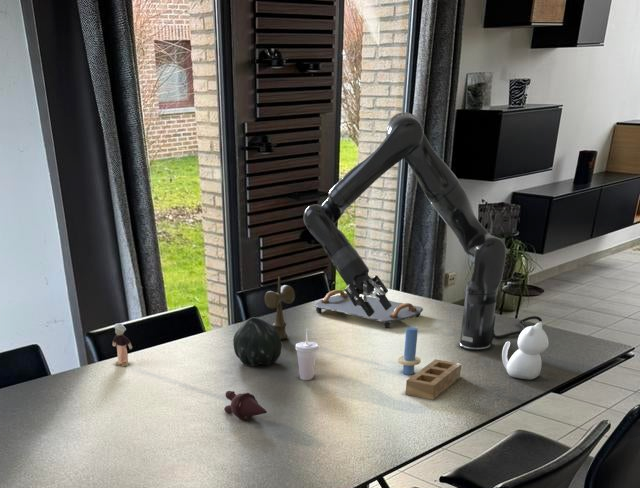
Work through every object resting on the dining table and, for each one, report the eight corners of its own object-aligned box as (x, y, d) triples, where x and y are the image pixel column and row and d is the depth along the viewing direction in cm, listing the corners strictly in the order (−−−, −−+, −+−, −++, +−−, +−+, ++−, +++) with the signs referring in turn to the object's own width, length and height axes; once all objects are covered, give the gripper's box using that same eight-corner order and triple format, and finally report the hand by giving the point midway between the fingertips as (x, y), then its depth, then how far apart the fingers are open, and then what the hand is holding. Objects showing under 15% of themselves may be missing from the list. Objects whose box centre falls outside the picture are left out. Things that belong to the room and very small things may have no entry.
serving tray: (306, 311, 270) (306, 294, 267) (345, 299, 284) (346, 283, 281) (392, 331, 246) (393, 313, 243) (430, 316, 260) (432, 299, 257)
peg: (407, 367, 215) (411, 323, 209) (424, 373, 211) (428, 328, 204) (392, 372, 212) (395, 328, 205) (409, 378, 207) (412, 333, 201)
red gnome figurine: (278, 397, 180) (237, 387, 190) (256, 397, 175) (216, 388, 185) (275, 425, 182) (235, 414, 192) (254, 426, 177) (213, 415, 187)
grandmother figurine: (109, 365, 224) (104, 324, 217) (116, 361, 227) (111, 320, 220) (131, 367, 221) (126, 326, 215) (138, 363, 224) (133, 322, 218)
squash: (280, 333, 229) (249, 301, 220) (297, 349, 217) (265, 316, 208) (248, 366, 231) (216, 336, 222) (263, 384, 219) (230, 352, 210)
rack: (433, 372, 211) (435, 359, 209) (460, 377, 207) (461, 363, 205) (405, 394, 197) (406, 380, 195) (432, 399, 193) (434, 385, 191)
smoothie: (318, 374, 212) (318, 326, 205) (317, 381, 207) (318, 333, 200) (295, 373, 213) (296, 326, 206) (294, 381, 207) (294, 333, 200)
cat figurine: (534, 385, 200) (544, 331, 193) (491, 375, 208) (499, 323, 200) (547, 376, 206) (557, 323, 198) (505, 367, 213) (513, 315, 206)
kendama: (295, 336, 244) (295, 275, 234) (278, 343, 238) (277, 281, 228) (281, 333, 248) (280, 272, 237) (263, 340, 241) (262, 278, 231)
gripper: (342, 261, 203) (374, 309, 202) (372, 252, 212) (402, 298, 211) (327, 278, 209) (358, 324, 208) (356, 269, 218) (386, 313, 217)
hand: (380, 311), depth 210 cm, fingers open, 8 cm apart
